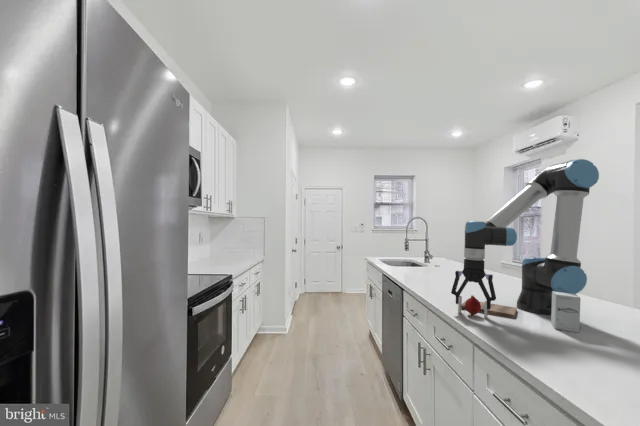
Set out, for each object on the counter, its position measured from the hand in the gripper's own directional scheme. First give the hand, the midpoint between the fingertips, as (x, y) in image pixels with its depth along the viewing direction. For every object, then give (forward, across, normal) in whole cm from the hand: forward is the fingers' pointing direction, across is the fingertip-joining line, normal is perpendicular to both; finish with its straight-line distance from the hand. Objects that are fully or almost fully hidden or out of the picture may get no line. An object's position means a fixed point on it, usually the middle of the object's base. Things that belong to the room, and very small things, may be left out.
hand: (472, 314), depth 129 cm
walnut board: (0, +4, +14) cm, 15 cm away
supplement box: (0, +30, +6) cm, 31 cm away
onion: (0, 0, 0) cm, 0 cm away
